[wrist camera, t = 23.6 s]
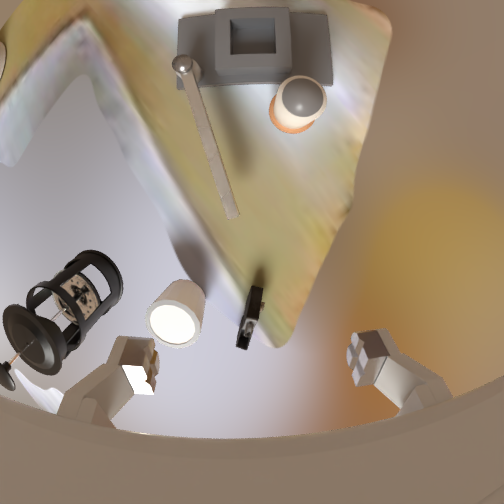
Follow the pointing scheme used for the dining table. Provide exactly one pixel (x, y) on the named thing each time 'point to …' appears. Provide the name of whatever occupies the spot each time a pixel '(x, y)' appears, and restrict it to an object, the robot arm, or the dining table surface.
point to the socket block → (255, 46)
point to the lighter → (250, 317)
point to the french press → (70, 305)
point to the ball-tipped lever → (206, 134)
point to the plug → (297, 104)
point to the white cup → (177, 314)
